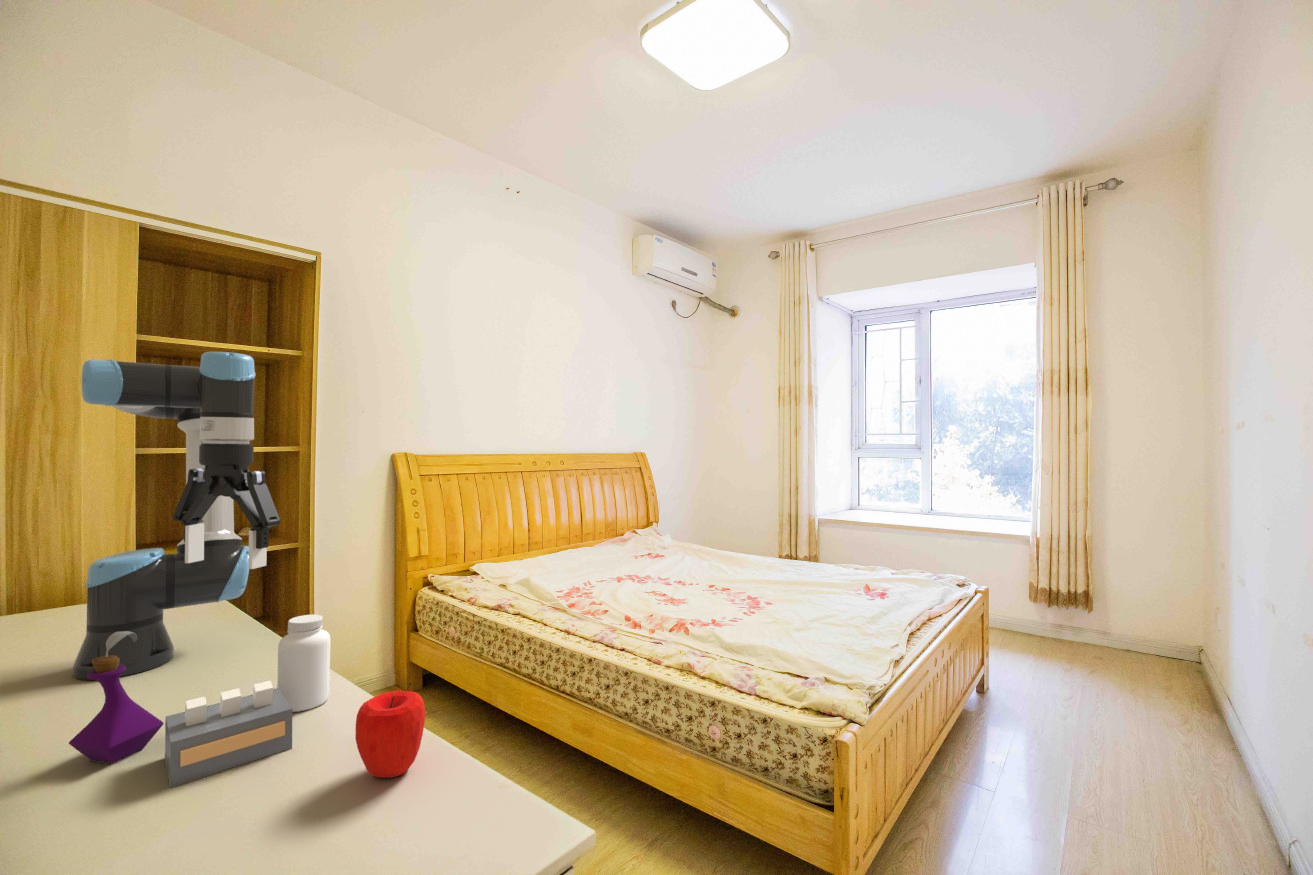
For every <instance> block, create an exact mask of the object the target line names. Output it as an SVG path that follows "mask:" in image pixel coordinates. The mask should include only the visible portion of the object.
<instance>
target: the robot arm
mask: <svg viewBox="0 0 1313 875" xmlns="http://www.w3.org/2000/svg"><path fill="white" fill-rule="evenodd" d="M199 364H200V365H199V366H192V365H191V366H190V365H176V364H175V365H174V364H173V365H172V364H157V363H146V362H143V363H142V362H132V361H121V360H120V361H119V360H114V359H106V360H105V359H88V360H86V361H84V362H83V364H82V368H81V397H82V399H83V401H84V402H85V403H87V404H90V405H98V406H99V405H101V406H105V407H106V406H108V407H110V406H111V407H113V408H114V409H116V410H119V411H120V412H124V413H127V414H132V415H136V416H141V417H145V418H146V417H147V418H154V419H165V420H167V419H173V420H177V425H176V426H177V428H178V429H180V430H181V431H182V432H184V433H185V459H186V460H185V486H184V489H183V491H182V494H181V496H180V499H179V501H178V503H177V506H176V508H175V511H174V513H173V516H172V519H173V521H175V522H177V521H178V522H180V523H181V525H183V539H182V540H181V541H179V543H177V545H176V553H167V554H166V552H165V549H164V548H162V547H151V548H141V549H136V550H130V551H126V552H121V553H117V554H116V553H115V554H113V555H108V556H105V557H102V558H99V559H97V560H95V561H94V562H92V563H91V564H90V566H89V567H88V569H87V570H88V571H87V579H86V580H87V581H86V584H85V588H87V592H86V593H87V594H86V629H85V630H86V631H85V632H86V633H85V637H84V640H83V641H82V644H81V647H80V648H79V651H78V653H77V655H76V658H75V661H74V662H73V666H72V670H73V672H72V674H73V675H72V677H73V678H74V679H77V680H83V681H94V680H95V679H89V678H88V677H87V675H88V673H89V672H90V671H92V670H94V667H93V664H92V660H93V659H95V658H96V657H99V656H105V655H106V650H107V649H106V641H107V640H108V638H109V637H110V636H111V635H112V634H113V633H115V632H123V631H130V632H133V633H135V634H136V635H137V640H136V642H135V643H134V642H133V640H132V638H131V637H129V636H128V635H127V636H125V637H124V638H122V639H121V640H120V641H119V642H117V643H116V644H115V645H114V646H113V647H112V648H111V649H109V651H108V655H114V656H117V657H119V658H120V661H119V664H123V665H124V666H125V667H126V670H125V671H124V672H123V673H121V675H120V677H119V678H121V677H125V676H129V675H134V674H138V673H142V672H146V671H149V670H151V669H155V668H157V667H160V666H162V665H164V664H166V663H168V662H170V661H171V660H173V658H174V652H175V651H174V644H173V641H172V640H171V637H170V634H169V632H168V630H167V628H166V626H165V622H164V610H168V609H175V608H183V607H188V606H189V607H190V606H197V605H203V604H204V605H205V604H212V603H220V602H223V601H229V600H234V599H238V598H239V597H241V596H242V595H243V594H244V592H245V590H246V588H247V584H248V579H249V572H250V570H255V569H258V568H263V567H266V566H267V561H268V560H267V558H268V557H267V552H268V551H267V548H269V545H270V529H271V528H272V527H274V526H279V525H280V524H281V519H280V515H279V513H278V511H277V508H276V506H275V503H274V500H273V498H272V495H271V493H270V490H269V487H268V485H267V479H266V472H265V470H254V471H250V469H249V467H250V465H252V464H253V463H254V457H255V456H254V452H255V450H254V448H255V445H253V444H252V443H250V441H253V440H255V418H254V417H255V414H254V411H255V410H254V407H255V403H254V402H255V381H256V380H255V379H256V378H255V377H257V376H256V375H257V374H256V372H255V360H254V358H253V356H251V355H248V354H244V353H237V352H230V351H228V352H227V351H205V352H203V353H202V354H201V357H200V363H199ZM234 501H236V503H237V505H238V506H239V508H240V510H241V511H242V512H243V514H244V516H245V517H246V519H247V520H248V522H249V524H250V525H251V526H252V527H251V528H250V529H249V530H248V545H243V538H242V537H241V536H239V535H238V534H236V533H235V521H234V520H235V519H234V518H235V513H234V512H235V511H234V510H235V508H234V504H235V503H234ZM95 681H96V680H95Z"/></svg>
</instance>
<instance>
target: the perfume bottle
mask: <svg viewBox="0 0 1313 875" xmlns="http://www.w3.org/2000/svg"><path fill="white" fill-rule="evenodd" d="M127 635H128V636H129V637H131V638H132V640H133V642H134V643H135V642H136V640H137V635H136V634H135V633H133V632H130V631H123V632H115V633H113V634H112V635H111V636H110V637H109V638H108V640H107V641H106V649H107V650H106V655H105V656H99V657H96V658H95V659H93V660H92V664H93V667H94V670H92V671H90V672H89V673H88V675H87V677H88V678H89V679H95V681H97V682H98V683H99V684H100V685H101V687H102V689H103V694H104V696H105V697H104V704H103V706H102V708H101V710H100V711H99V712H98V713H97V714H96V715H95V717H94V718H92V720H91V721H89V723H88V724H87V725H86V726H84V727H83V728H82V730H80V731H79V732H78V733H77V734H76V735H74V737H73V738H71V740H70V741H69V742H68V745H69V746H71V747H72V748H73V749H75V750H76V751H78V752H79V753H80V754H82V755H83V756H85V757H86V758H87V759H88V760H90V761H91V762H99V763H105V764H114V763H116V762H119V761H121V760H124V759H125V758H127V757H129V756H132V755H134V754H136V753H137V752H140V751H141V750H143V749H145V747H146V746H147V745H148V743H149V742H150V741H151V740H152V739H153V737H154V736H155V735H156V734H157V733H158V731H159V730H160V729H161V728H162V727H163V725H164V724H165V723H164V722H163V721H162V720H161V719H159V718H158V717H157V716H155V715H154V714H152V713H151V712H150V711H148V710H147V709H145V708H143V707H142V706H141V705H139V703H137V702H135V701H134V700H133V699H132V698H131V697H130V696H129V695H128V693H127V692H126V691H125V688H124V687H123V685H122V683H121V680H120V678H121V677H120V675H121V673H123V672H124V671H125V670H126V667H125V666H124V665H123V664H119V661H120V658H119V657H117V656H114V655H108V651H109V649H111V648H112V647H113V646H114V645H115V644H116V643H117V642H119V641H120V640H121V639H122V638H124V637H125V636H127Z"/></svg>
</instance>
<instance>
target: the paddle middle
mask: <svg viewBox="0 0 1313 875" xmlns="http://www.w3.org/2000/svg"><path fill="white" fill-rule="evenodd" d="M241 697H242V694H241V690H240V687H238V688H234V689H230V690H226V691H221V692H220V697H219V698H220V699H219V701H220V702H219V703H220V712H221V716H222V717H224V716H228V715H232V714H236V713H239V712H240V707H241Z"/></svg>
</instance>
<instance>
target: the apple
mask: <svg viewBox="0 0 1313 875" xmlns="http://www.w3.org/2000/svg"><path fill="white" fill-rule="evenodd" d="M426 715H427V714H426V706H425V702H424V699H423V698H422V696H421V695H420V694H419V693H417V692H416V691H415V692H414V691H409V690H393V691H392V690H391V691H387V692H384V693H380V694H377V695H376V696H373V697H371V698H370V699H368V700H367V701H365V702H363V704H362V705H361V706H360V707H359V709H358V711H357V714H356V719H355V733H354V734H355V742H356V747H357V750H358V753H359V756H360V758H361V760H362V763H363V765H364V766H365V769H366V771H367V772H368V773H369V774H370V776H373V777H375V778H381V779H382V778H383V779H385V778H395V777H398V776H401V775H403V774H404V773H406V772H407V771H408V770H409V769H410V768H411V766H412V765H413V764H414V762H415V760H416V758H417V755H418V753H419V750H420V747H421V744H422V738H423V735H424V728H425V723H426V722H425V721H426Z"/></svg>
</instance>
